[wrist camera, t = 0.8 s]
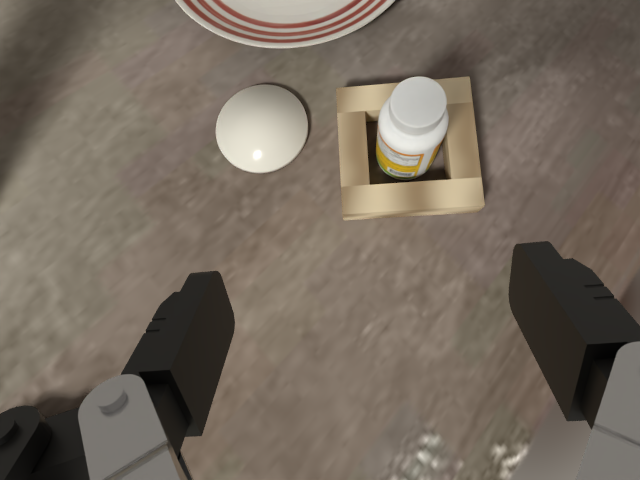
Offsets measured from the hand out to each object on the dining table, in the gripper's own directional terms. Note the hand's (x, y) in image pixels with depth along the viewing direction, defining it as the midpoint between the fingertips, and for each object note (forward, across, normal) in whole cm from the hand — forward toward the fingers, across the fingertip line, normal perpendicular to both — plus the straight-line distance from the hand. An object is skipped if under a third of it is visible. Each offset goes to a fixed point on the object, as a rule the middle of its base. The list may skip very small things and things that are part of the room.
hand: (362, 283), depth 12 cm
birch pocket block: (+28, -4, +7) cm, 30 cm away
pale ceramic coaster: (+31, +9, +4) cm, 32 cm away
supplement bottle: (+29, -4, +8) cm, 30 cm away
